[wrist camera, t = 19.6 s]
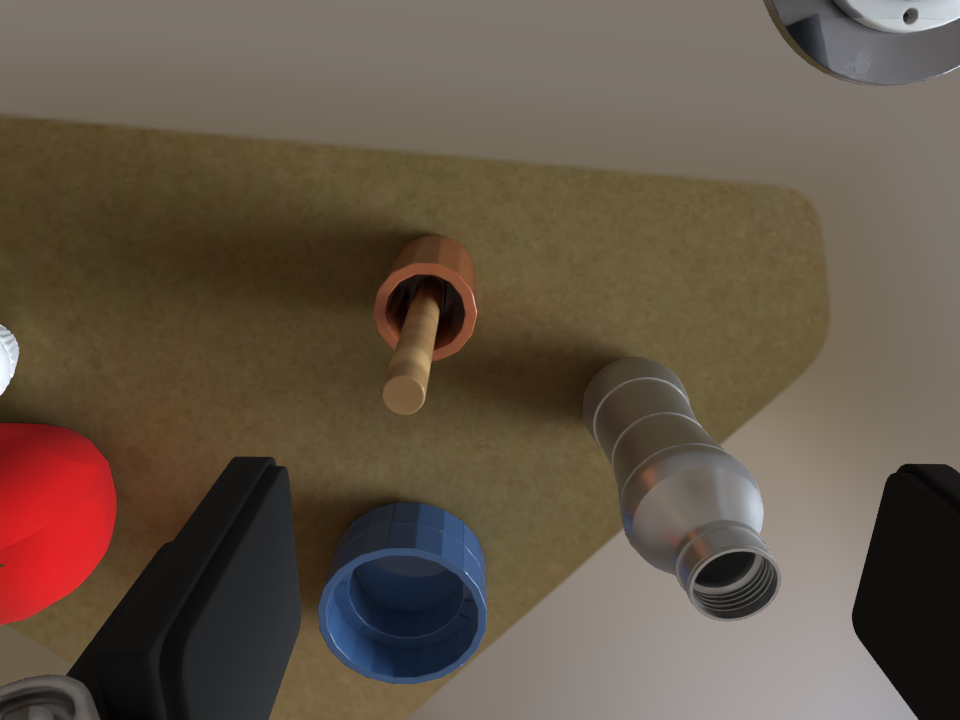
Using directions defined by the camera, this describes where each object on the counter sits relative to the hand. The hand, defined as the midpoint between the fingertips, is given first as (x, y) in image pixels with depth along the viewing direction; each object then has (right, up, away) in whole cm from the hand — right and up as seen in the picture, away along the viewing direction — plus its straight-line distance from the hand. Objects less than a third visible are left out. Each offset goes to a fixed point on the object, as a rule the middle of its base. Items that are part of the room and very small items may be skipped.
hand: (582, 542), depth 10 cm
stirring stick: (-5, +8, +31) cm, 33 cm away
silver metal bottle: (+8, +1, +35) cm, 36 cm away
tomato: (-32, -5, +37) cm, 49 cm away
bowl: (-7, -12, +39) cm, 42 cm away
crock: (-4, +8, +32) cm, 33 cm away
